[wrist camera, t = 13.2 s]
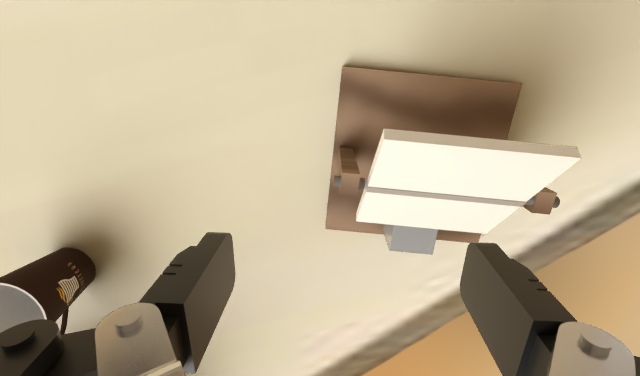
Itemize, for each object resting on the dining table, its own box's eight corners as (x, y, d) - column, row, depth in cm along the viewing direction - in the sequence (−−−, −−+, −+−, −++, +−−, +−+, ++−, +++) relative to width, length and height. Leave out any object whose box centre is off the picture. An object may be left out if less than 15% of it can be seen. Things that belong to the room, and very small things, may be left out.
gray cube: (396, 210, 37) (389, 250, 38) (441, 215, 37) (432, 254, 38) (389, 195, 41) (382, 231, 43) (428, 199, 41) (421, 235, 43)
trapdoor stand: (342, 66, 38) (347, 62, 26) (516, 83, 38) (601, 86, 26) (325, 224, 44) (323, 279, 32) (474, 239, 44) (527, 299, 32)
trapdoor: (383, 128, 24) (384, 140, 23) (576, 147, 24) (581, 159, 23) (356, 213, 36) (356, 222, 35) (484, 225, 36) (486, 234, 35)
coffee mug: (46, 232, 46) (-28, 272, 37) (107, 252, 47) (50, 296, 37) (39, 297, 50) (-29, 350, 40) (96, 315, 50) (42, 370, 41)
